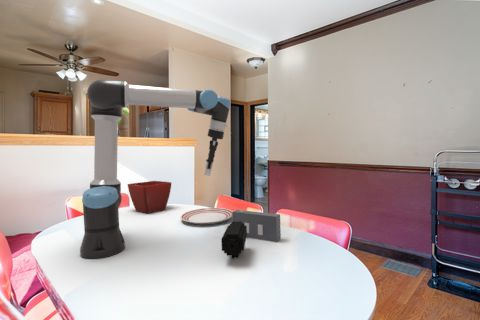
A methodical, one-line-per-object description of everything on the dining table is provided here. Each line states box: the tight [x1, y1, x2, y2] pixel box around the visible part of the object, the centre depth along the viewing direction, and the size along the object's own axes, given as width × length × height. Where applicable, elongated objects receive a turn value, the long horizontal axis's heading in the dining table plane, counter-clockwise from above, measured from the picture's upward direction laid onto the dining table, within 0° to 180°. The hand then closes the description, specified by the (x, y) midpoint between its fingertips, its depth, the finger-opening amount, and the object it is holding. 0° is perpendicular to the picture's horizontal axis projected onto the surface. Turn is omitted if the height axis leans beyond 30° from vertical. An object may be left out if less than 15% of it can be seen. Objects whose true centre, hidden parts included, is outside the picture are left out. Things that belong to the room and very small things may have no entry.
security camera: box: [220, 221, 248, 259], centre depth 96 cm, size 7×18×10 cm, turn 174°
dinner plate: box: [180, 207, 234, 226], centre depth 143 cm, size 27×27×3 cm
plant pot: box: [127, 180, 172, 214], centre depth 168 cm, size 19×19×17 cm
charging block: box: [231, 209, 282, 243], centre depth 114 cm, size 4×20×10 cm, turn 60°
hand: (207, 172), depth 135 cm, fingers open, 13 cm apart
